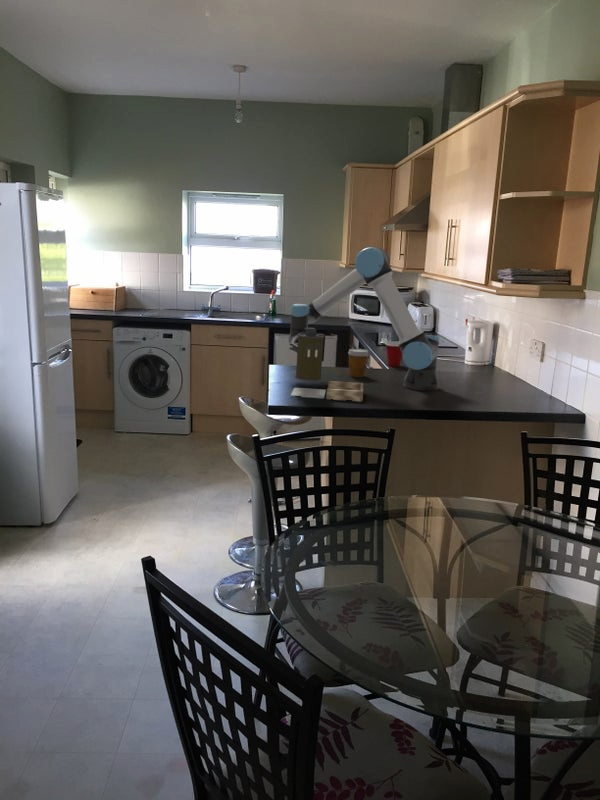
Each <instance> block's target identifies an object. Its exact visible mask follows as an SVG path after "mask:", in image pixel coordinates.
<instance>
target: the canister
mask: <svg viewBox="0 0 600 800" xmlns="http://www.w3.org/2000/svg"><path fill="white" fill-rule="evenodd" d="M305 330H306V333H299V334H298V349H297V352H296V367H295V369H296V370H295V371H296V372H295V376H294V377H295V379H296V380H301V381H305V382H306V381H307V382H315V381H321V380H322V365H323V362H324V359H325V348H326V347H325V346H326V334H323V333H317V328H316V327H315V328H314V327H308V328H305ZM308 350H310V357H308ZM315 350H317V357H315Z"/></svg>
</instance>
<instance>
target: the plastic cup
mask: <svg viewBox="0 0 600 800" xmlns="http://www.w3.org/2000/svg"><path fill="white" fill-rule="evenodd" d="M398 343H399V340H398V341H397V340H395V341H394V340H391V341H386V342H384V345H385V348H386V355H387V356H386V357H387V365H388V366H389V367H397V368H398V367H400V365H401V361H402V359H403V356H402V354H403V353H402V351H401V349H400V347H399V345H398Z"/></svg>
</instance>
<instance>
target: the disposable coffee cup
mask: <svg viewBox="0 0 600 800" xmlns="http://www.w3.org/2000/svg"><path fill="white" fill-rule="evenodd" d="M347 353H348V363H349V376H351V377H353V376H354V378H363V377H364V375H365V371H366V365H367V360H368V357H369V350H368V349H363V348H350V349H349V351H348V352H347Z"/></svg>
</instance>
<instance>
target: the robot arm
mask: <svg viewBox="0 0 600 800" xmlns="http://www.w3.org/2000/svg"><path fill="white" fill-rule="evenodd" d="M354 266H355V268H354V269H352V271H350V272H349V273H348V274H346V275H345V276H344V277H343V278H341V279H340V280H338V281H337V282H336V283H334V284H333V285H332V286H331V287H329V288H328V289H327V290H326V291H325V292H323V293H322V294H321V295H319V296H318V297H316V299H314V300H313V301H312V302H311V303H309V304H304V303H294V304H292V305H291V310H290V330H289V335H288V343H289V350H292V351H293V352H294V353H295V352H296V353H297V349H298V334H299V333H306V330H305V328H309V325H310V324H314V323H316V322H317V321H319V319H320V318H321V317H322V316H324V315H325V314H326V313H327V312H329V311H330V310H332V309H333V308H334V307H335V306H337V305H338V304H339V303H341V302H342V301H343V300H344V299H346V298H347V297H349V296H350V295H352V294H353V293H354V292H355V291H357V290H358V289H359V288H360V287H362V286H363V285H365V284H366V285H367V286H368V287H371V288H372V289H373V291H374V292H375V294H376V295H375V296H376V297H377V298H378V300H379V302H380V304H381V306H382V308H383V310H384V312H385V314H386V316H387V319H388V320H389V322H390V323H391V326H392V328H393V329H394V331H395V334H396V335H397V337H398V339H399V340H398V341H399V343H398V345H399V347H400V349H401V351H402V353H403V354H402V359H403V362H404V364H405V365H406V366H407V367H408V370H407V373H406V375H405V377H404V380H403V387H404V388H406V389H411V390H415V391H424V390H428V391H427V392H429V391H437V390H439V387H440V383H439V378H438V373H437V366H438V365H437V363H438V354H439V345H440V338H439V336H438V335H432V334H431V335H430V334H426V333H425V332H424V330H421V329H419V327H418V326H417V324H416V323H415V320H414V318H413V316H412V314H411V313H410V310H409V309H408V307H407V305H406V303H405V300H404V298H403V296H402V295H401V293H400V291H399V289H398V287H397V285H396V284H395V281H394V280H393V277H392V276H393V269H392V268H391V257H390V256H389V253H388V252H387V251H386V250H384V249H383V248H380V247H374V246H369V247H365V248H364V249H362V250H360V251H358V253H357V255H356V257H355V261H354ZM308 357H310V350H308ZM315 357H317V350H315Z"/></svg>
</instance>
